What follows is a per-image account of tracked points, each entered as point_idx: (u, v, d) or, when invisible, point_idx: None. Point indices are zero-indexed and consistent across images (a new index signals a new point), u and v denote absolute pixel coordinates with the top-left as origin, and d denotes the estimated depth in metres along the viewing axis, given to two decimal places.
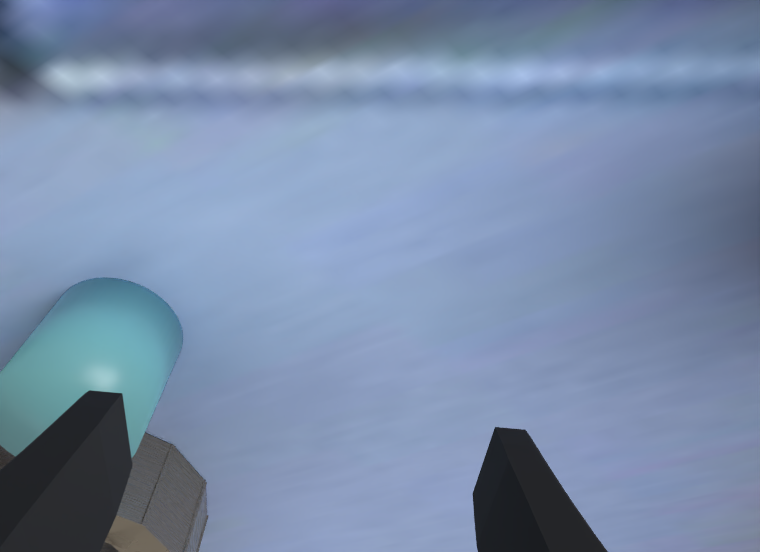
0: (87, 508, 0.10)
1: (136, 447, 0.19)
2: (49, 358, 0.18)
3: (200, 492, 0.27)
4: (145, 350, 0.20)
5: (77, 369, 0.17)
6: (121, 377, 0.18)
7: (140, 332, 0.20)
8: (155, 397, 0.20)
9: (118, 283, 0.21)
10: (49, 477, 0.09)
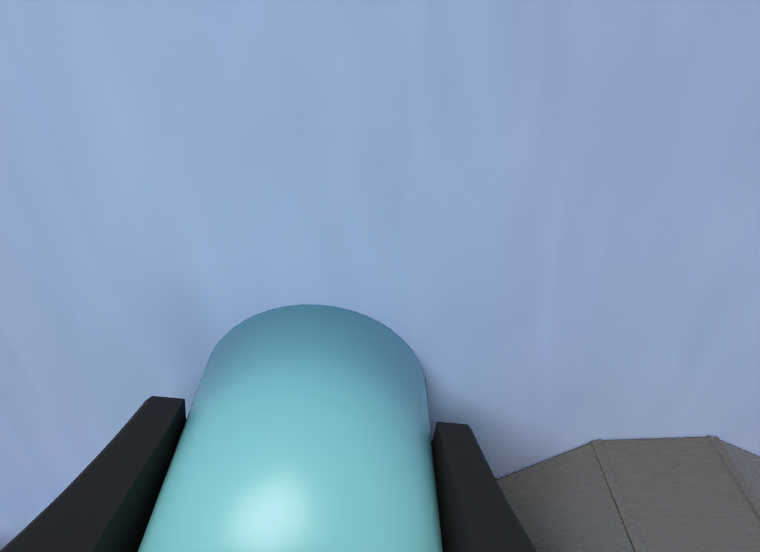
0: None
1: None
2: None
3: (722, 461, 0.13)
4: (269, 405, 0.09)
5: None
6: (232, 493, 0.08)
7: (248, 386, 0.10)
8: (364, 451, 0.09)
9: (212, 355, 0.12)
10: (128, 483, 0.09)
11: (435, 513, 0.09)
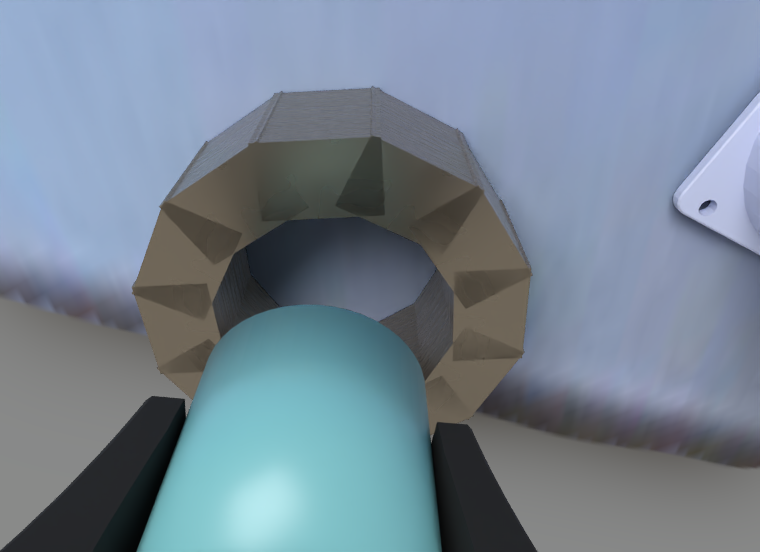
0: None
1: None
2: None
3: (370, 94, 0.15)
4: (266, 405, 0.09)
5: None
6: (227, 494, 0.08)
7: (245, 387, 0.10)
8: (360, 450, 0.09)
9: (210, 356, 0.12)
10: (128, 483, 0.09)
11: (434, 512, 0.09)
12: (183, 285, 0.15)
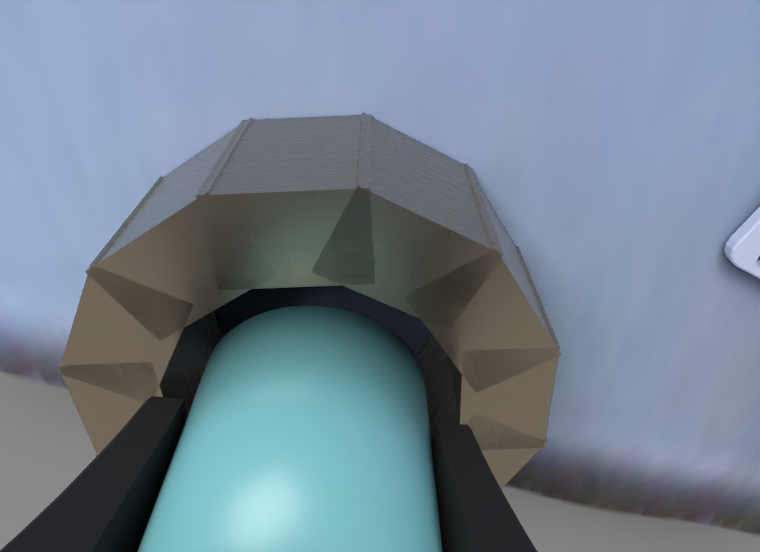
0: None
1: None
2: None
3: (359, 124, 0.12)
4: (266, 405, 0.09)
5: None
6: (228, 495, 0.08)
7: (246, 388, 0.10)
8: (361, 451, 0.09)
9: (211, 357, 0.12)
10: (128, 483, 0.09)
11: (434, 512, 0.09)
12: (122, 364, 0.12)
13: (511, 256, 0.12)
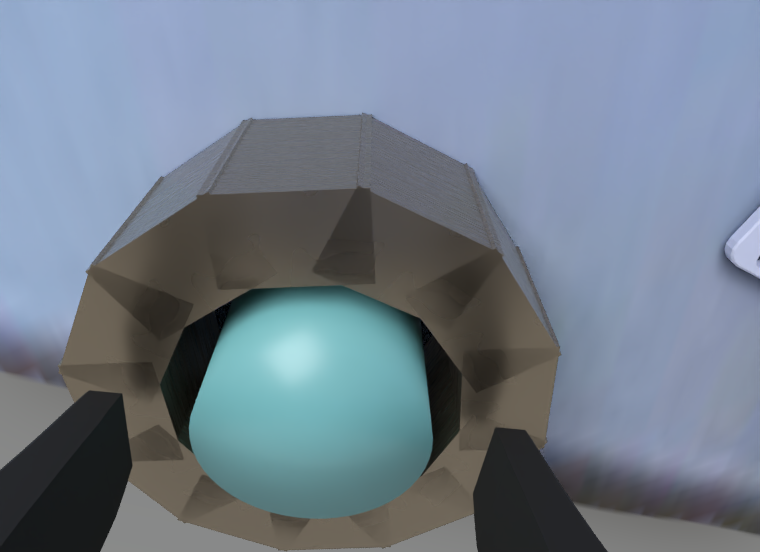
0: (87, 508, 0.10)
1: (395, 380, 0.11)
2: None
3: (359, 124, 0.12)
4: None
5: (215, 373, 0.11)
6: (272, 329, 0.11)
7: None
8: (367, 309, 0.12)
9: None
10: (49, 477, 0.09)
11: (422, 362, 0.12)
12: (122, 364, 0.12)
13: (511, 256, 0.12)
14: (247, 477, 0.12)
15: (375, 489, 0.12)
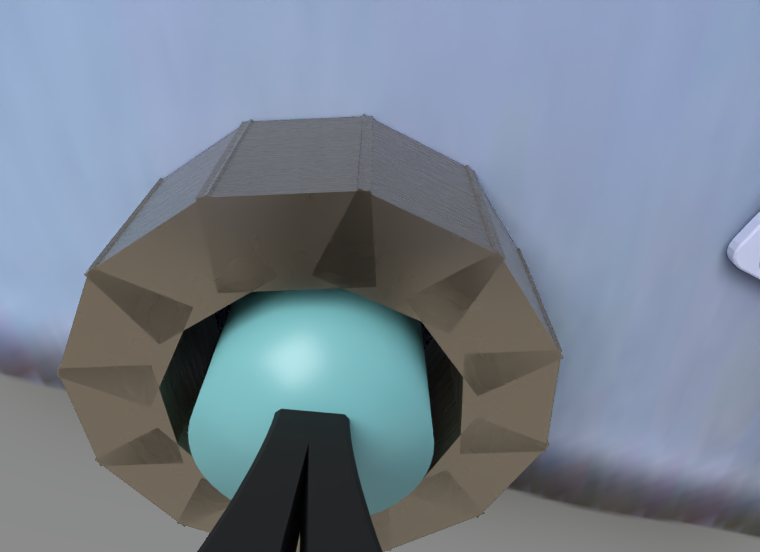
0: (296, 524, 0.10)
1: (397, 384, 0.11)
2: None
3: (360, 125, 0.12)
4: None
5: (214, 377, 0.11)
6: (272, 333, 0.11)
7: None
8: (368, 312, 0.12)
9: None
10: (290, 496, 0.09)
11: (423, 366, 0.12)
12: (121, 367, 0.12)
13: (513, 258, 0.12)
14: None
15: (376, 494, 0.12)
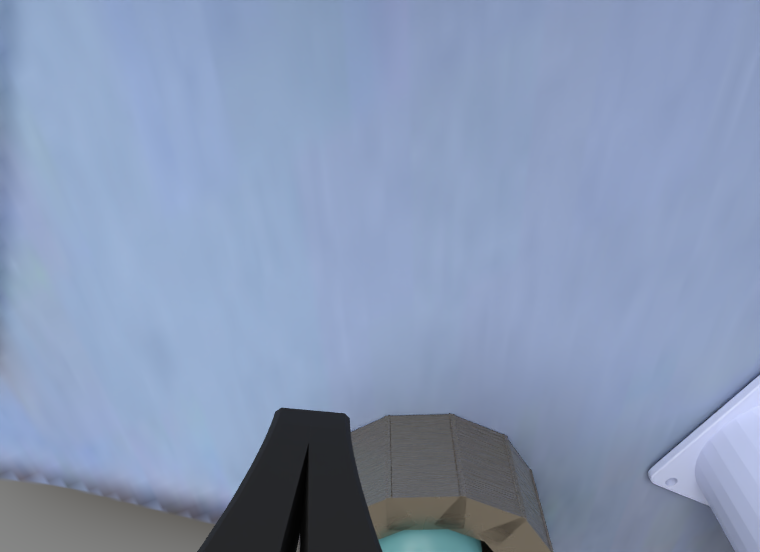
0: (296, 524, 0.10)
1: None
2: None
3: (450, 426, 0.24)
4: None
5: None
6: (412, 547, 0.22)
7: None
8: None
9: None
10: (290, 496, 0.09)
11: (481, 551, 0.24)
12: None
13: (529, 498, 0.24)
14: None
15: None
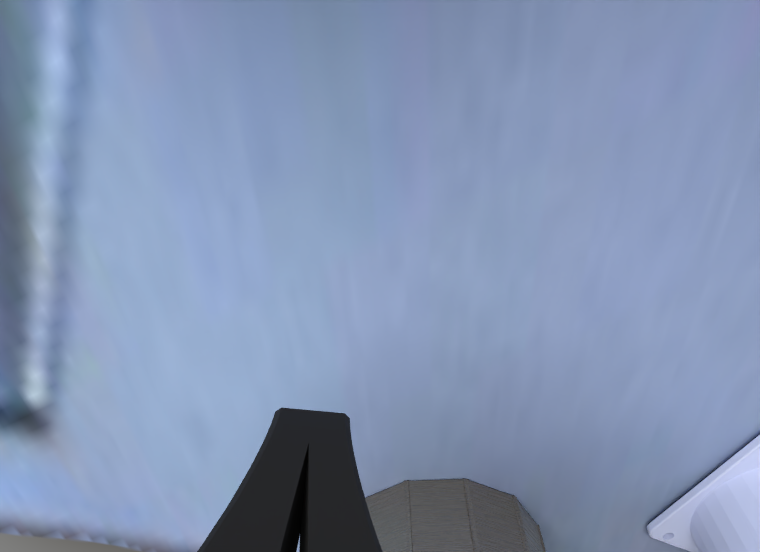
0: (296, 524, 0.10)
1: None
2: None
3: (464, 492, 0.26)
4: None
5: None
6: None
7: None
8: None
9: None
10: (290, 496, 0.09)
11: None
12: None
13: None
14: None
15: None
